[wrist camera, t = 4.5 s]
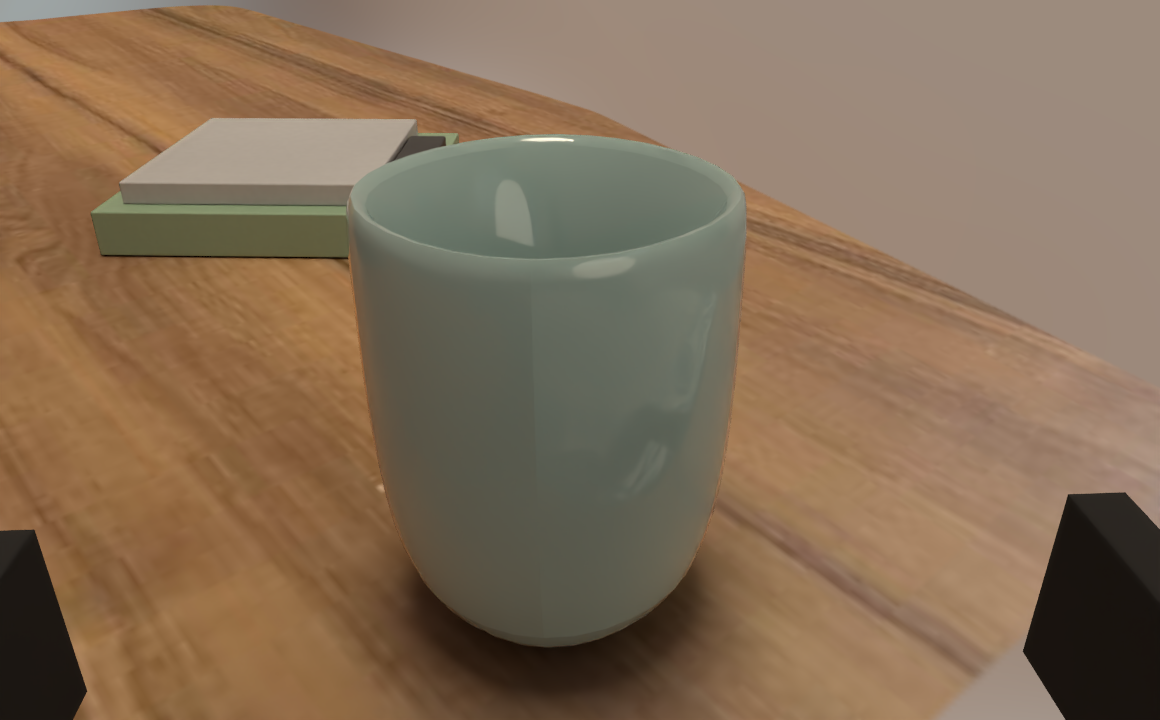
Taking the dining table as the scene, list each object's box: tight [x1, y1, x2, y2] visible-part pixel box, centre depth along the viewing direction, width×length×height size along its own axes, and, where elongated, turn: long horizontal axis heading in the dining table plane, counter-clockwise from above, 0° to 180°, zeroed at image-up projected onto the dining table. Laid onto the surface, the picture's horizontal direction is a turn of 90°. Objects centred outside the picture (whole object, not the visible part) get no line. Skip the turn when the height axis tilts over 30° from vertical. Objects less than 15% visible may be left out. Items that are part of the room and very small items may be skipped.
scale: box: [91, 118, 459, 257], centre depth 47 cm, size 14×13×3 cm
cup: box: [346, 134, 747, 648], centre depth 22 cm, size 8×8×10 cm
